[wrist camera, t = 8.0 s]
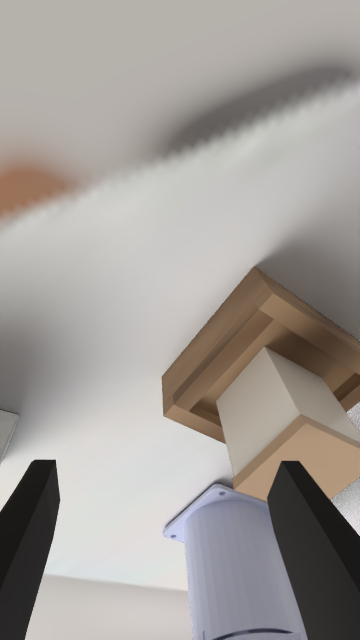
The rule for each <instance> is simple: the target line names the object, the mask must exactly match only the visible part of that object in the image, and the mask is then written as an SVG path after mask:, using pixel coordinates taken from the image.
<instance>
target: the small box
mask: <svg viewBox="0 0 360 640" xmlns="http://www.w3.org/2000/svg"><path fill="white" fill-rule="evenodd" d="M18 420H19V415H17V414H14V413H10V412H6V411H3V410H0V465H1V462H2V460H3V457H4V455H5V453H6V450H7V448H8V445H9V443H10V440H11V438H12V435H13V433H14V430H15V428H16V425H17V423H18Z"/></svg>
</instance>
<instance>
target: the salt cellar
mask: <svg viewBox="0 0 360 640" xmlns="http://www.w3.org/2000/svg"><path fill="white" fill-rule="evenodd" d="M216 404H217V408H218V412H219V416H220V420H221V424H222V428H223V432H224V437H225V441H226V445H227V449H228V453H229V457H230V461H231V465H232V469H233V474H234V478H233V479H232V483H233V487H234V490H236V491H238V492H241V493H244V494H247V495H250V496H253V497H256V498H258V499H261V500H264V501H267V496H268V494H269V491H270V488H271V486H272V483H273V481H274V478H275V476H276V473H277V471H278V468H279V466H280V463H281V461H300V462H301V464H302V465H303V466H304V468H305V469H306V470H307V471H308V473H309V474H310V475H311V476H312V478H313V479H314V480H315V482H316V483H317V484H318V485H319V487H320V488H321V489H322V491H323V492H324V493H325V494H326V496H327V497H328V498H329V499H330V500H331V499H332V498H333V497H335V496H336V495H337V494H338V493H340V492H341V491H342V490H344V489H345V488H346V487H348V486H349V485H350V484H351V483H353V482H354V481H355V480H357V479H358V478H359V477H360V432H359V431H358V429H357V428H356V426H355V425H354V423H353V422H352V420H351V419H350V418H349V416H348V415H347V413H346V412H345V410H344V409H343V407H342V406H341V404H340V403H339V402H338V400H337V399H336V397H335V396H334V394H333V393H332V391H331V390H330V389H329V387H328V386H327V384H326V383H325V381H324V380H323V378H321V377H319V376H317V375H316V374H314V373H312V372H310V371H308V370H306V369H305V368H303V367H301V366H299V365H297V364H296V363H294V362H292V361H290V360H288V359H286V358H285V357H283V356H281V355H279V354H277V353H275V352H274V351H272V350H270V349H268V348H266V347H265V346H264V347H263V348H262V349H261V351H260V352H259V353H258V354H257V355H256V356H255V357H254V359H253V360H252V361H251V362H250V363H249V364H248V365H247V366H246V368H245V369H244V370H243V371H242V372H241V373H240V374H239V376H238V377H237V378H236V379H235V380H234V381H233V382H232V383H231V385H230V386H229V387H228V388H227V389H226V390H225V391H224V392H223V394H222V395H221V396H220V397H219V398H218V399H217V400H216Z"/></svg>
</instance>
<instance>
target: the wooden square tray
mask: <svg viewBox="0 0 360 640" xmlns="http://www.w3.org/2000/svg"><path fill="white" fill-rule="evenodd" d="M264 346H265V347H266V348H268V349H270V350H272V351H274V352H275V353H277V354H279V355H281V356H283V357H285V358H286V359H288V360H290V361H292V362H294V363H296V364H297V365H299V366H301V367H303V368H305V369H306V370H308V371H310V372H312V373H314V374H316V375H317V376H319V377H321V378H323V380H324V381H325V383H326V384H327V386H328V387H329V389H330V390H331V391H332V393H333V394H334V396H335V397H336V399H337V400H338V402H339V403H340V404H341V406H342V407H343V409H344V410H345V412H347V411H348V410H350V409H351V408H352V407H353V406H354V405H356V404H357V403H358V402H359V401H360V341H359V340H357V339H356V338H354V337H353V336H351V335H350V334H349V333H347V332H346V331H344V330H343V329H342V328H340V327H339V326H337V325H336V324H334V323H333V322H332V321H330V320H329V319H327V318H326V317H325V316H323V315H322V314H320V313H319V312H318V311H316V310H315V309H313V308H312V307H310V306H309V305H308V304H306V303H305V302H303V301H302V300H301V299H299V298H298V297H296V296H295V295H293V294H292V293H291V292H289V291H288V290H286V289H285V288H284V287H282V286H281V285H279V284H278V283H276V282H275V281H274V280H272V279H271V278H269V277H268V276H267V275H265V274H264V273H262V272H261V271H259V270H258V269H257V268H255V267H253V268H252V269H251V270H250V272H249V273H248V274H247V275H246V276H245V278H244V279H243V280H242V281H241V282H240V284H239V285H238V286H237V287H236V288H235V290H234V291H233V292H232V293H231V294H230V296H229V297H228V298H227V299H226V300H225V302H224V303H223V304H222V305H221V306H220V308H219V309H218V310H217V311H216V312H215V314H214V315H213V316H212V317H211V318H210V320H209V321H208V322H207V323H206V324H205V326H204V327H203V328H202V329H201V330H200V332H199V333H198V334H197V335H196V336H195V338H194V339H193V340H192V341H191V342H190V344H189V345H188V346H187V347H186V348H185V350H184V351H183V352H182V353H181V354H180V356H179V357H178V358H177V359H176V360H175V362H174V363H173V364H172V365H171V366H170V368H169V369H168V370H167V371H166V372H165V374H164V375H163V376H162V394H163V416H164V417H167V418H169V419H171V420H173V421H175V422H178V423H180V424H182V425H184V426H187V427H189V428H191V429H193V430H196V431H198V432H200V433H202V434H205V435H207V436H209V437H211V438H213V439H216V440H218V441H220V442H222V443H225V444H226V441H225V437H224V432H223V428H222V424H221V420H220V416H219V412H218V408H217V404H216V400H217V399H218V398H219V397H220V396H221V395H222V394H223V392H224V391H225V390H226V389H227V388H228V387H229V386H230V385H231V383H232V382H233V381H234V380H235V379H236V378H237V377H238V376H239V374H240V373H241V372H242V371H243V370H244V369H245V368H246V366H247V365H248V364H249V363H250V362H251V361H252V360H253V359H254V357H255V356H256V355H257V354H258V353H259V352H260V351H261V349H262V348H263V347H264Z"/></svg>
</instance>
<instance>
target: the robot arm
mask: <svg viewBox="0 0 360 640" xmlns="http://www.w3.org/2000/svg"><path fill="white" fill-rule="evenodd" d="M59 504H60V495H59V486H58V477H57V468H56V460H34V461H32V462H31V464H30V465H29V467H28V469H27V471H26V472H25V474H24V476H23V477H22V479H21V481H20V482H19V484H18V486H17V487H16V489H15V490H14V492H13V493H12V495H11V496H10V498H9V500H8V501H7V503H6V504H5V506H4V507H3V509H2V510H1V512H0V640H25V636H26V632H27V628H28V624H29V621H30V617H31V614H32V610H33V607H34V603H35V600H36V596H37V593H38V589H39V586H40V582H41V579H42V575H43V572H44V568H45V565H46V561H47V558H48V554H49V551H50V547H51V544H52V540H53V536H54V531H55V526H56V520H57V515H58V509H59ZM163 536H164V537H166V538H170V539H173V540H176V541H180V542H183V543H185V555H186V567H187V579H188V591H189V603H190V615H191V627H192V639H193V640H360V536H359V535H358V534H357V532H356V531H355V530H354V529H353V528H352V526H351V525H350V524H349V523H348V522H347V520H346V519H345V518H344V517H343V516H342V514H341V513H340V512H339V511H338V509H337V508H336V507H335V506H334V504H333V503H332V502H331V501H330V499H329V498H328V497H327V496H326V494H325V493H324V492H323V491H322V489H321V488H320V487H319V485H318V484H317V483H316V482H315V480H314V479H313V478H312V476H311V475H310V474H309V473H308V471H307V470H306V469H305V468H304V466H303V465H302V464H301V462H300V461H281V463H280V466H279V468H278V471H277V473H276V476H275V478H274V481H273V483H272V486H271V488H270V491H269V494H268V496H267V502H265V501H262V500H260V499H257V498H255V497H252V496H249V495H247V494H244V493H241V492H238V491H236V490H234V489H231V488H229V487H226V486H223V485H221V484H214V485H212V486H211V487H210V488H209V489H208V490H207V491H206V492H205V493H204V494H202V495H201V496H200V497H199V498H198V499H197V500H196V501H195V502H194V503H192V504H191V505H190V506H189V507H188V508H187V509H186V510H185V511H184V512H183V513H181V514H180V515H179V516H178V517H177V518H176V519H175V520H174V521H173V522H171V523H170V524H169V525H168V526H167V527H166V528H165V529H164V530H163Z"/></svg>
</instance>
